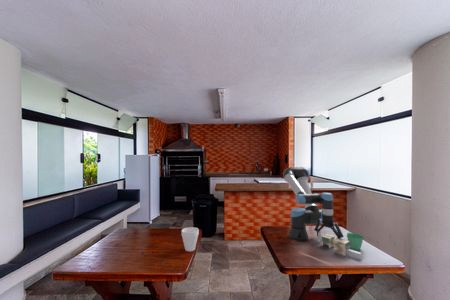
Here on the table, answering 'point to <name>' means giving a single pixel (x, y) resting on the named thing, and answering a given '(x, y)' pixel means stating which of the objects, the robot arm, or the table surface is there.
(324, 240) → the cream patterned block
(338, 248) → the cream toy block
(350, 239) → the mug
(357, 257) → the rail board
